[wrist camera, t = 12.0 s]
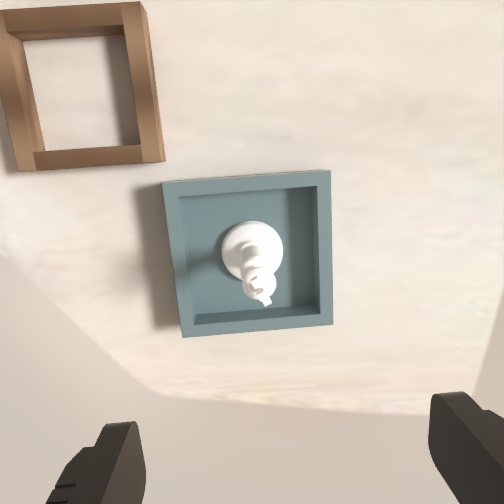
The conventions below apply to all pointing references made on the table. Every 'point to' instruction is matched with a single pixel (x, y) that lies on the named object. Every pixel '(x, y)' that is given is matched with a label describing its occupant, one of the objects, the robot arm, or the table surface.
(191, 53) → the table surface
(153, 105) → the collar
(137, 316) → the table surface
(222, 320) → the tray
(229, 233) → the chess piece
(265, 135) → the table surface
